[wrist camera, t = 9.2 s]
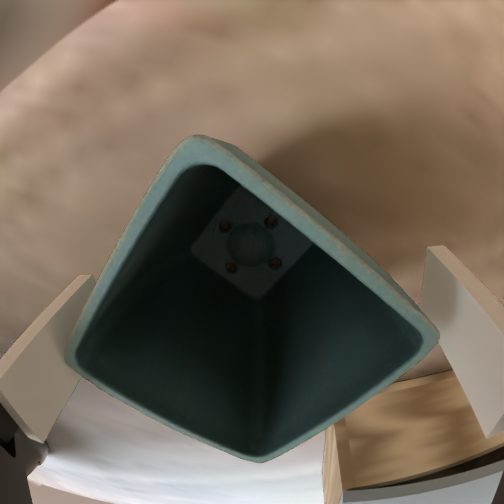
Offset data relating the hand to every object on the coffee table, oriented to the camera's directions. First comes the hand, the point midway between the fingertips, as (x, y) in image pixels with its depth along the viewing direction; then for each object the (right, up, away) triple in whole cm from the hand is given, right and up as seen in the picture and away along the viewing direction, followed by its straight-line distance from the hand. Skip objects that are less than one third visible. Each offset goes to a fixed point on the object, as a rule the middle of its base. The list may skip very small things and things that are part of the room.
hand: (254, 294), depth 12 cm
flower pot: (0, +2, +5) cm, 6 cm away
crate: (+14, -14, +11) cm, 23 cm away
